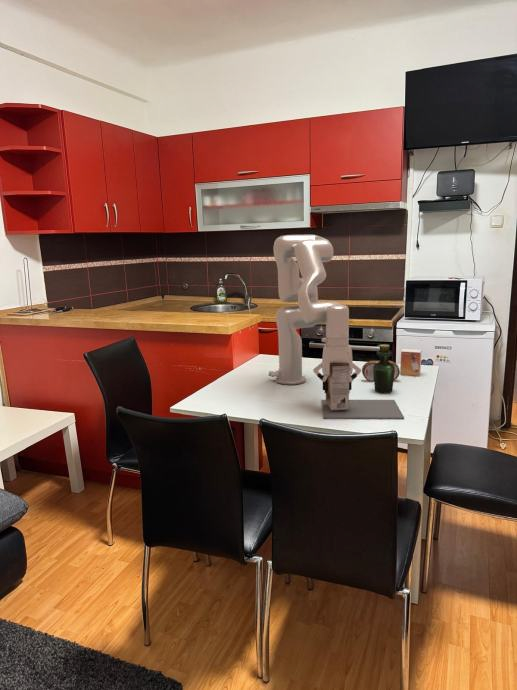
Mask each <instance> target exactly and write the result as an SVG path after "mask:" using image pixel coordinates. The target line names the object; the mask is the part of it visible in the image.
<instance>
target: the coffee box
mask: <svg viewBox="0 0 517 690" xmlns="http://www.w3.org/2000/svg"><path fill="white" fill-rule="evenodd" d="M349 365H350V364H349V363H330V375H329V376H328V377H327V379H326V380H327V393H325V400H326V403H327V404H328V406H329V408H330V409H331V410H345V409H349V400H350V399H349V398H350V397H349V396H350V393H349Z"/></svg>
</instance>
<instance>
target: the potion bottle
mask: <svg viewBox="0 0 517 690" xmlns="http://www.w3.org/2000/svg"><path fill="white" fill-rule="evenodd" d="M376 355H377V356H378V357H379V361H380V362H378V363H376V364H374V366H373V372H374V381H373V383H374V385H373V386H374V391H375V393H378V394H385V395H386V394H391V393H392V392H393V388H394V381H395V380H394V373H395V367H394V365H393V364H392V363H390V362H388V361H390V357H391V356H393V353H392V351H391V350H390V344H386V343H385V344H379V350H377V351H376Z"/></svg>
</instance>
